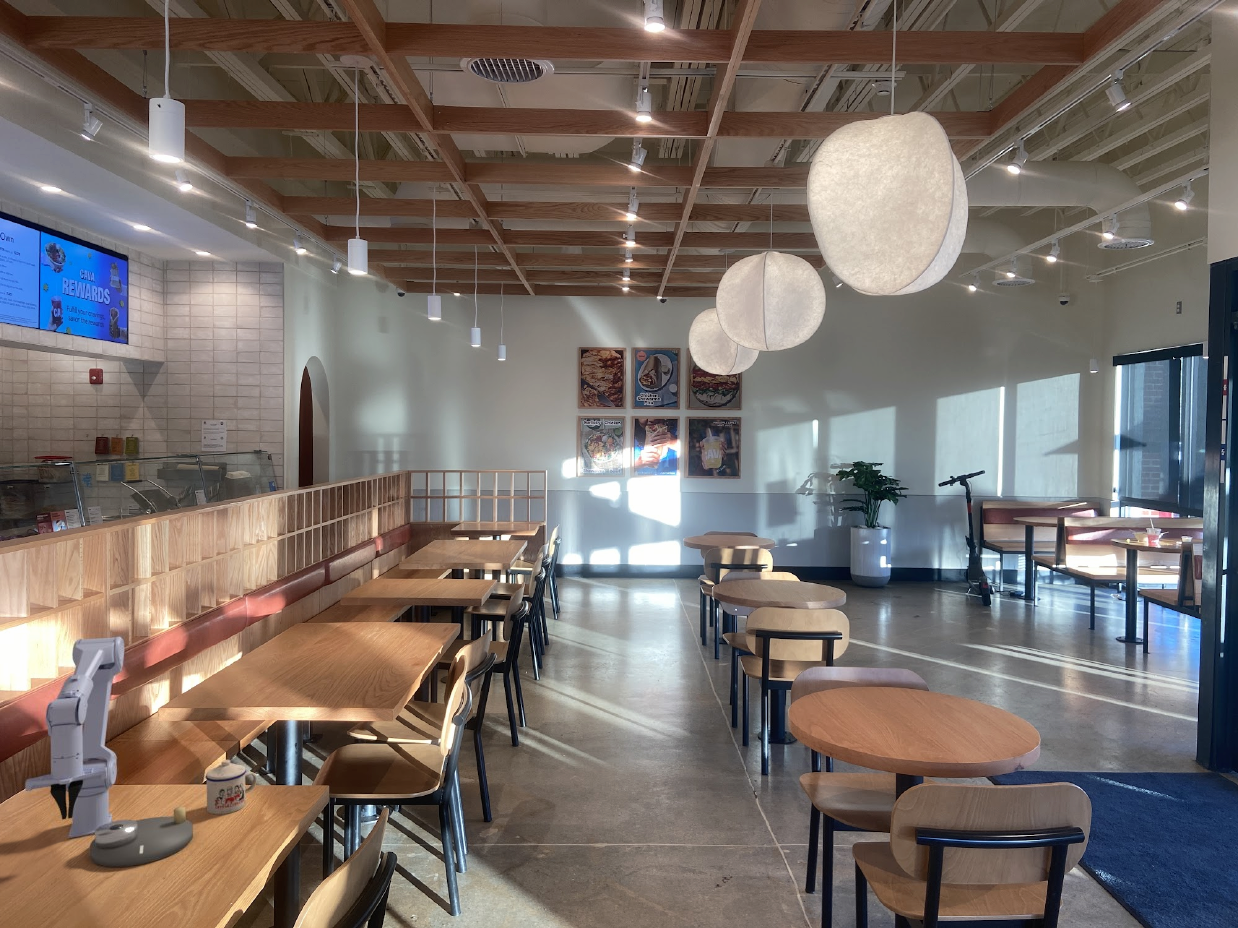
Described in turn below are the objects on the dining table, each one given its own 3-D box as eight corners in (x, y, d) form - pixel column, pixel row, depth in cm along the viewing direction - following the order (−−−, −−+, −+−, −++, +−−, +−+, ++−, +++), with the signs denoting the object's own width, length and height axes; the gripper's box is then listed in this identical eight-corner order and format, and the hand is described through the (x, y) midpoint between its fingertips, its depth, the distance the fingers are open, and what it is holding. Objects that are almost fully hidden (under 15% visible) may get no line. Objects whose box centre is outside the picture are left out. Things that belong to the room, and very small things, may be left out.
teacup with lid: (213, 818, 200) (213, 770, 200) (200, 807, 206) (200, 760, 206) (264, 804, 208) (263, 757, 208) (249, 793, 215) (249, 748, 215)
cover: (96, 837, 185) (96, 823, 185) (138, 829, 189) (137, 815, 189) (93, 852, 178) (93, 837, 178) (136, 844, 182) (136, 829, 182)
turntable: (93, 836, 190) (93, 814, 190) (192, 818, 200) (191, 797, 199) (85, 875, 172) (85, 851, 172) (193, 853, 182) (193, 830, 182)
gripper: (22, 766, 172) (23, 831, 172) (105, 753, 179) (105, 816, 179) (28, 755, 178) (28, 818, 179) (107, 744, 185) (107, 804, 185)
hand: (67, 816), depth 179 cm, fingers closed
